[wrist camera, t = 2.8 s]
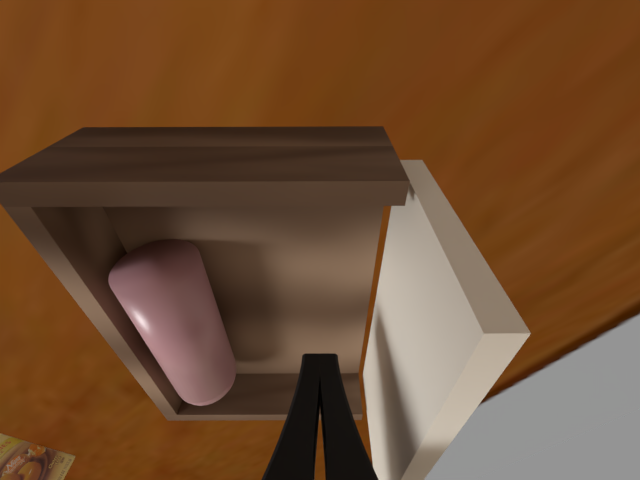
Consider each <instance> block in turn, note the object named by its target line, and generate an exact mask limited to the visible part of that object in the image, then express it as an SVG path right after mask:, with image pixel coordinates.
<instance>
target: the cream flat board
mask: <svg viewBox="0 0 640 480" xmlns="http://www.w3.org/2000/svg"><path fill="white" fill-rule="evenodd" d="M400 162H401V164H402V166H403V168H404V170H405V172H406V174H407V176H408V178H409V180H410V183H409V188H408V193H407V198H406V203H405V206H391V212H390V218H389V223H388V229H387V235H386V241H385V247H384V253H383V259H382V265H381V270H380V276H379V282H378V288H377V294H376V300H375V306H374V312H373V317H372V323H371V329H370V335H369V341H368V347H367V353H366V359H365V364H364V370H363V383H364V392H365V401H366V410H367V418H368V427H369V436H370V445H371V453H372V462H373V468H374V471H375V473H376V475H377V477H378V479H379V480H424V479H425V477H426V476H427V475H428V473H429V472H430V471H431V469H432V468H433V466H434V465H435V464H436V462H437V461H438V460H439V458H440V457H441V456H442V454H443V453H444V451H445V450H446V449H447V447H448V446H449V445H450V443H451V442H452V441H453V439H454V438H455V436H456V435H457V434H458V432H459V431H460V430H461V428H462V427H463V426H464V424H465V423H466V422H467V420H468V419H469V417H470V416H471V415H472V413H473V412H474V411H475V409H476V408H477V407H478V405H479V404H480V402H481V401H482V400H483V398H484V397H485V396H486V394H487V393H488V392H489V390H490V389H491V387H492V386H493V385H494V383H495V382H496V381H497V379H498V378H499V377H500V375H501V374H502V372H503V371H504V370H505V368H506V367H507V366H508V364H509V363H510V362H511V360H512V359H513V357H514V356H515V355H516V353H517V352H518V351H519V349H520V348H521V347H522V345H523V344H524V343H525V341H526V340H527V338H528V337H529V336H530V334H531V332H530V331H529V329H528V328H527V326H526V324H525V323H524V321H523V320H522V318H521V316H520V315H519V313H518V312H517V310H516V309H515V307H514V305H513V304H512V302H511V301H510V299H509V297H508V296H507V294H506V293H505V291H504V289H503V288H502V286H501V285H500V283H499V281H498V280H497V278H496V277H495V275H494V273H493V272H492V270H491V269H490V267H489V265H488V264H487V262H486V261H485V259H484V258H483V256H482V254H481V253H480V251H479V250H478V248H477V246H476V245H475V243H474V242H473V240H472V238H471V237H470V235H469V234H468V232H467V230H466V229H465V227H464V226H463V224H462V222H461V221H460V219H459V218H458V216H457V215H456V213H455V211H454V210H453V208H452V207H451V205H450V203H449V202H448V200H447V199H446V197H445V195H444V194H443V192H442V191H441V189H440V187H439V186H438V184H437V183H436V181H435V179H434V178H433V176H432V175H431V173H430V172H429V170H428V168H427V167H426V165H425V164H424V162H423V160H400Z"/></svg>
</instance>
